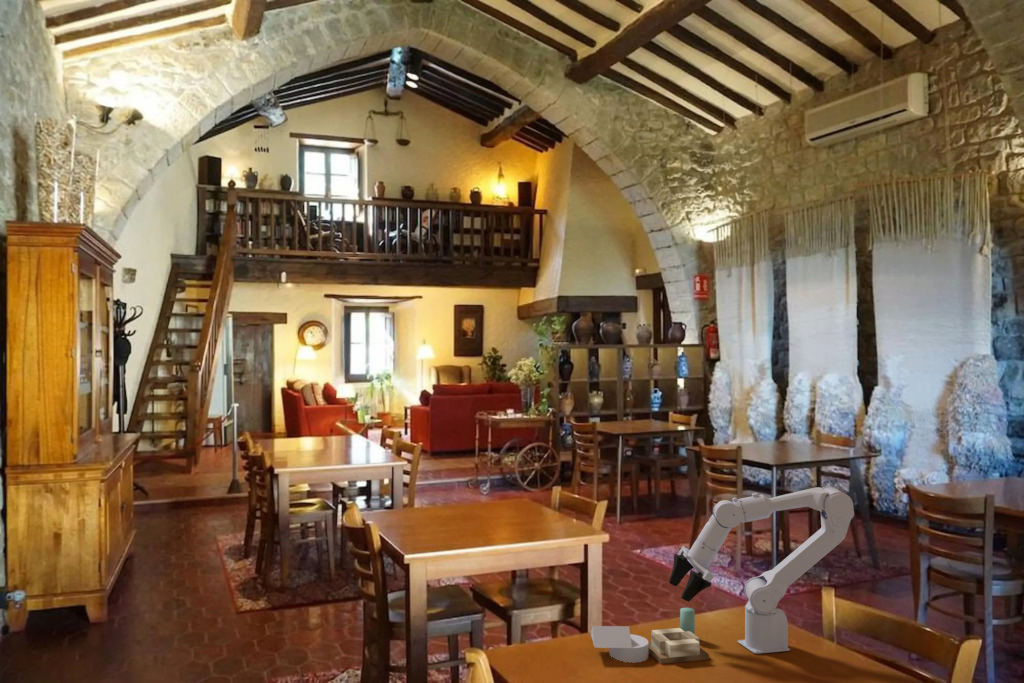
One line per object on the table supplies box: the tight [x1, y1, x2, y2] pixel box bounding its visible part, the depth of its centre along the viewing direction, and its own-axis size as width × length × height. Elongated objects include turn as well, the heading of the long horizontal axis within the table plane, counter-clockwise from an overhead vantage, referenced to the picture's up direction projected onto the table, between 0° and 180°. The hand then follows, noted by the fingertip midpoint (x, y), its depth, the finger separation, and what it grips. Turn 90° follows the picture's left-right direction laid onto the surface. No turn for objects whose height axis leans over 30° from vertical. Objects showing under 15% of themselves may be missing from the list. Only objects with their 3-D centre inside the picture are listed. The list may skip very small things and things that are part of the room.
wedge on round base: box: [590, 625, 649, 664], centre depth 179 cm, size 9×7×13 cm
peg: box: [679, 607, 696, 635], centre depth 190 cm, size 4×4×7 cm
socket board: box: [648, 627, 710, 665], centre depth 180 cm, size 12×10×4 cm
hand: (678, 591), depth 187 cm, fingers open, 7 cm apart
